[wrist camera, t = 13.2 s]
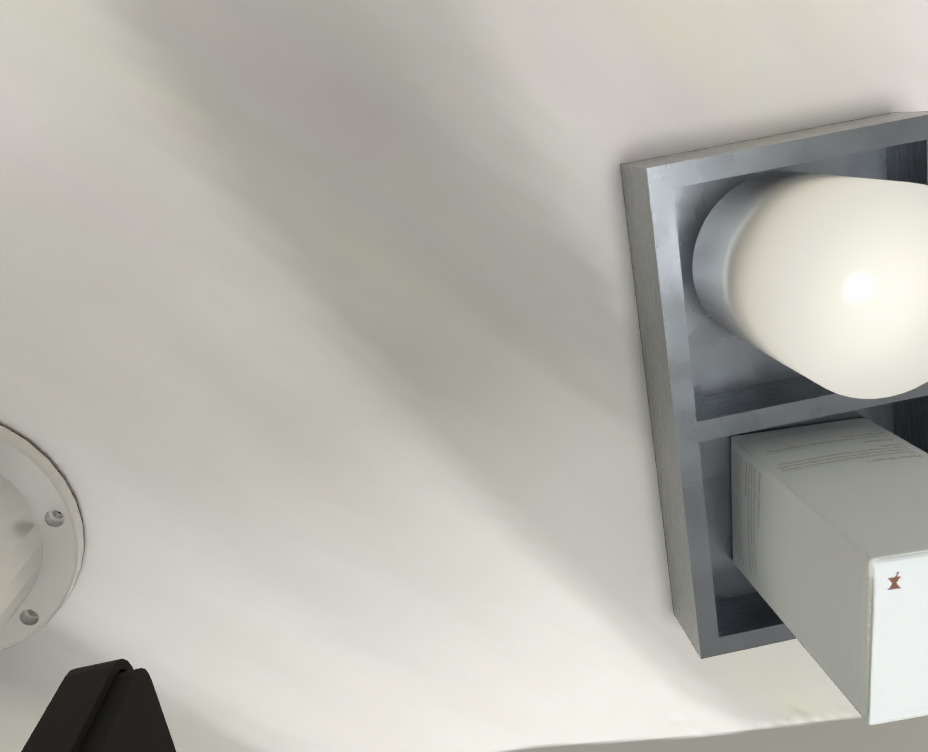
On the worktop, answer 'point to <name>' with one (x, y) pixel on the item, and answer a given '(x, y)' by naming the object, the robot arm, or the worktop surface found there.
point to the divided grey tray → (737, 358)
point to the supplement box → (841, 553)
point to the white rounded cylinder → (823, 277)
